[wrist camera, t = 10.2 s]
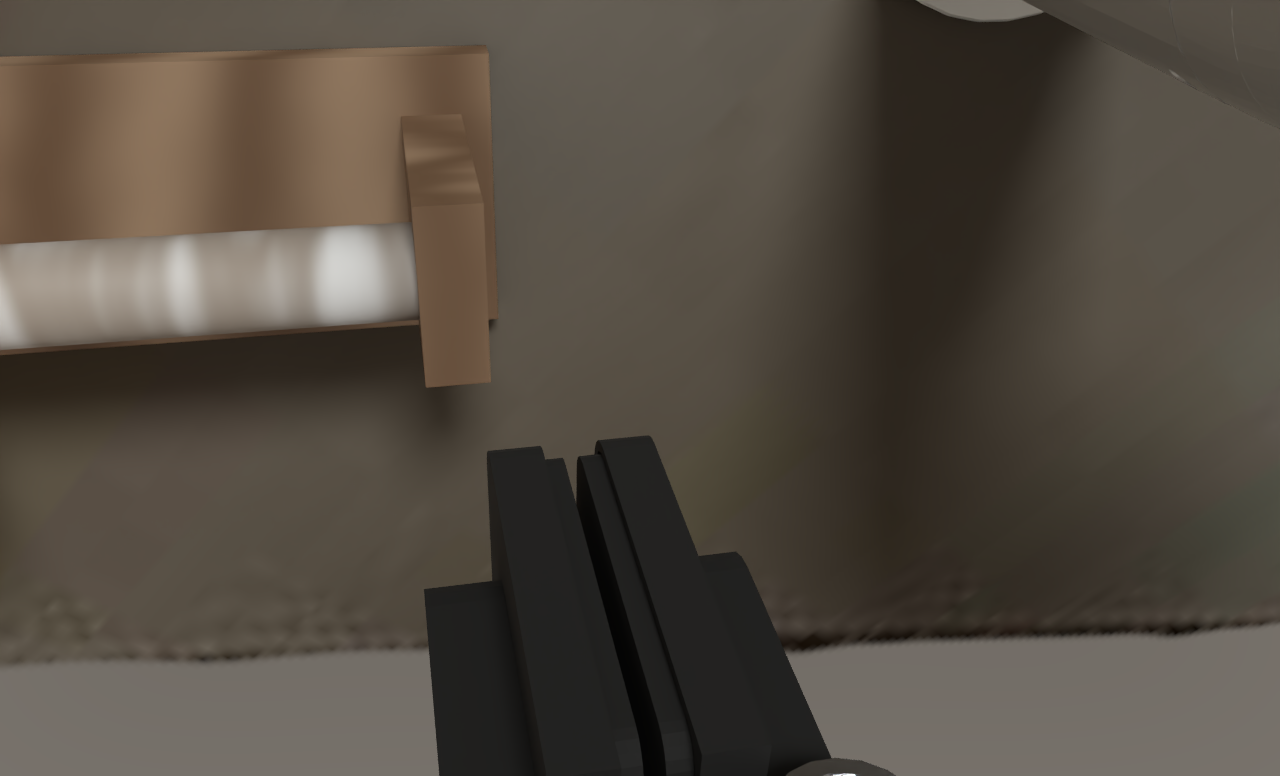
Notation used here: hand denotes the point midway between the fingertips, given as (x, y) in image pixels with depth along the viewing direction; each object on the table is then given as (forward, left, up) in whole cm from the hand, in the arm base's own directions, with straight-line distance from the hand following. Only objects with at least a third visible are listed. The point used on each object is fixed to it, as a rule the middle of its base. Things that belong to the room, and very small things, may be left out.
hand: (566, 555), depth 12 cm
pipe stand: (+12, +8, -29) cm, 32 cm away
